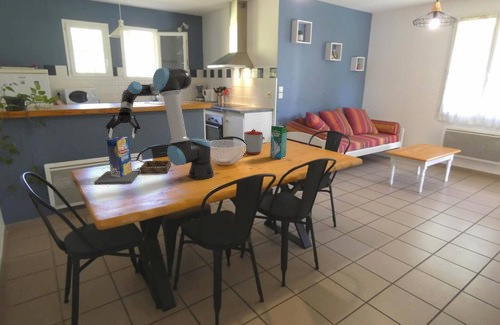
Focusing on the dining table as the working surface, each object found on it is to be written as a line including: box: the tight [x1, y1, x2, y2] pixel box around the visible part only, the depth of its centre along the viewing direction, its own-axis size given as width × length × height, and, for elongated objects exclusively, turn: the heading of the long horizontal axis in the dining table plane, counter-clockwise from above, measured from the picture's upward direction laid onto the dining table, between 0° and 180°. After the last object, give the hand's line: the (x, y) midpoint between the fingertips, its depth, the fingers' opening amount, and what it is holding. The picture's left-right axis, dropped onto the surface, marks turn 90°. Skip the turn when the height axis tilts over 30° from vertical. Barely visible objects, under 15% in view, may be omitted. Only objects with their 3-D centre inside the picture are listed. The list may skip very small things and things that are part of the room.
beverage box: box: [106, 136, 133, 177], centre depth 178 cm, size 7×11×22 cm, turn 167°
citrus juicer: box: [243, 128, 266, 155], centre depth 240 cm, size 16×17×20 cm
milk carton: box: [269, 125, 288, 160], centre depth 228 cm, size 9×9×25 cm
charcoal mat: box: [93, 170, 141, 185], centre depth 177 cm, size 20×20×2 cm
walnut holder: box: [139, 160, 172, 175], centre depth 194 cm, size 16×16×4 cm
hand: (121, 137), depth 182 cm, fingers open, 13 cm apart
